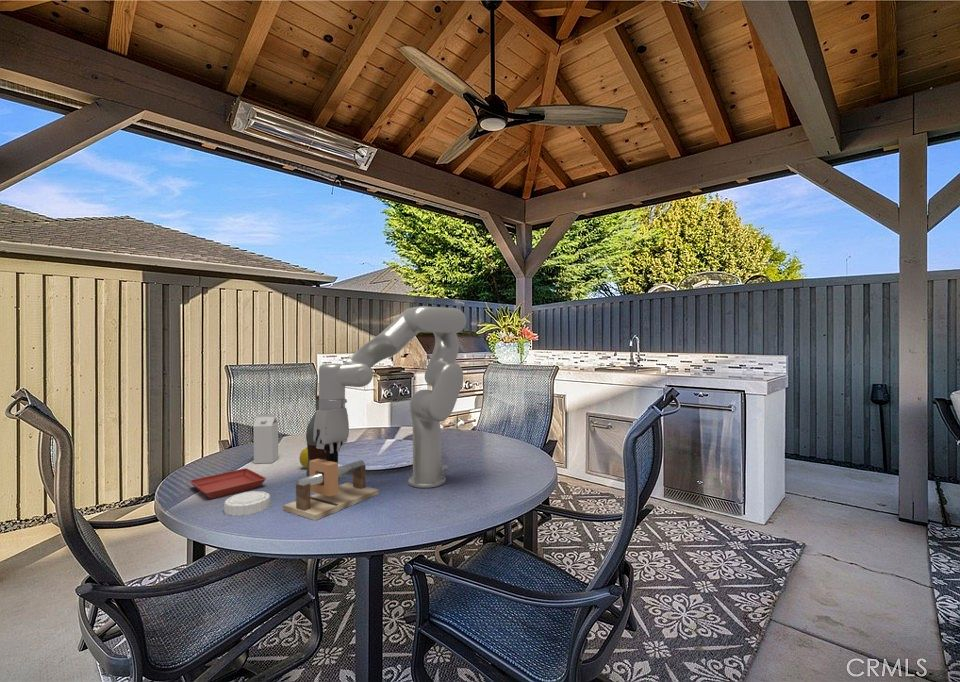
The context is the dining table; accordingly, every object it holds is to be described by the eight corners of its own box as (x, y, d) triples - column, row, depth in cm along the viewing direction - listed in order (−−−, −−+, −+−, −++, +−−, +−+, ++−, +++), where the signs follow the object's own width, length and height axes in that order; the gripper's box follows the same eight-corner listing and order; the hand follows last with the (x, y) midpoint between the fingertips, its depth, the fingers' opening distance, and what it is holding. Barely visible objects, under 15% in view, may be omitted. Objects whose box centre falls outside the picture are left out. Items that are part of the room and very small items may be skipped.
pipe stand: (347, 486, 150) (347, 461, 150) (378, 494, 143) (378, 467, 143) (283, 510, 130) (282, 481, 130) (315, 520, 122) (314, 489, 122)
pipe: (358, 468, 147) (357, 459, 147) (365, 470, 145) (364, 460, 145) (296, 489, 127) (296, 478, 127) (303, 491, 126) (303, 479, 126)
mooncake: (262, 498, 141) (262, 486, 141) (276, 508, 132) (276, 496, 132) (219, 508, 132) (219, 496, 132) (230, 520, 124) (230, 507, 124)
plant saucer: (206, 502, 137) (206, 492, 137) (188, 489, 150) (188, 479, 150) (267, 488, 151) (267, 478, 151) (246, 477, 163) (246, 467, 163)
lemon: (296, 469, 170) (296, 448, 170) (306, 465, 175) (306, 445, 175) (308, 471, 168) (307, 449, 168) (318, 467, 173) (318, 446, 173)
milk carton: (260, 459, 185) (259, 413, 185) (278, 458, 186) (278, 412, 186) (253, 464, 178) (253, 416, 178) (272, 463, 179) (271, 415, 179)
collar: (318, 488, 137) (317, 458, 137) (338, 493, 132) (337, 462, 132) (309, 491, 134) (309, 460, 134) (330, 496, 130) (329, 465, 130)
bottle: (327, 477, 161) (327, 393, 160) (340, 482, 154) (339, 395, 154) (301, 483, 154) (300, 395, 154) (313, 489, 148) (312, 398, 147)
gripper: (343, 400, 144) (343, 458, 144) (302, 406, 132) (303, 469, 132) (359, 402, 140) (359, 461, 140) (319, 408, 128) (320, 473, 128)
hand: (332, 465), depth 136 cm, fingers closed
